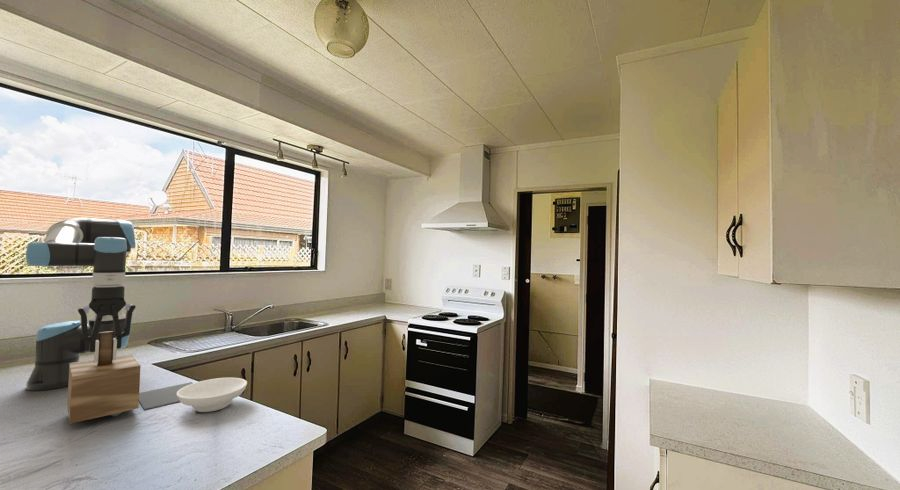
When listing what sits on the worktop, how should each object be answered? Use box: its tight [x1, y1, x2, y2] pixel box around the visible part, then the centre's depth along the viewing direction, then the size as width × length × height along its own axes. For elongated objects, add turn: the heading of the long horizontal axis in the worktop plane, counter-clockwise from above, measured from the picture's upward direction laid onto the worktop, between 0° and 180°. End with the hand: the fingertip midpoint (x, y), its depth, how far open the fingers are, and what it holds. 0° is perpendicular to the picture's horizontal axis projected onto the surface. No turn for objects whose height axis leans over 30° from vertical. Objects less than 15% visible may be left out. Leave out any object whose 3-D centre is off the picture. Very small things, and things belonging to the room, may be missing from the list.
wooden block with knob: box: [66, 331, 141, 425], centre depth 113 cm, size 18×15×23 cm
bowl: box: [177, 377, 248, 413], centre depth 119 cm, size 20×20×7 cm
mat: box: [139, 381, 194, 411], centre depth 129 cm, size 19×17×1 cm
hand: (105, 360), depth 113 cm, fingers closed on wooden block with knob, 3 cm apart
